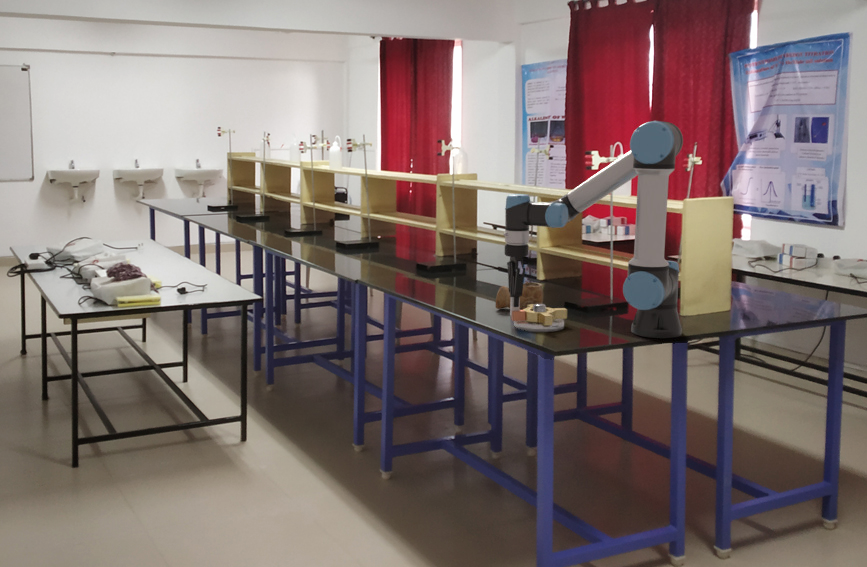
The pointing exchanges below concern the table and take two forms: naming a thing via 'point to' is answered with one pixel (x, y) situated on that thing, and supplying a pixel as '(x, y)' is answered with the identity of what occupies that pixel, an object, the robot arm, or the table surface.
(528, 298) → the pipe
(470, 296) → the table surface
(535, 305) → the star wheel turntable
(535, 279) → the table surface
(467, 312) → the table surface
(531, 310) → the star wheel
